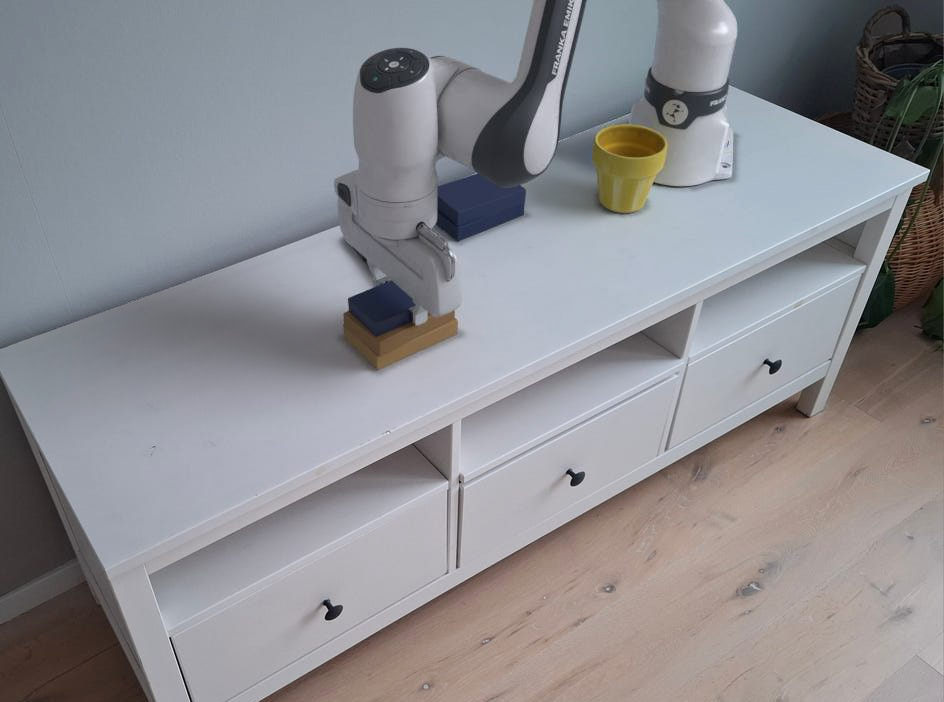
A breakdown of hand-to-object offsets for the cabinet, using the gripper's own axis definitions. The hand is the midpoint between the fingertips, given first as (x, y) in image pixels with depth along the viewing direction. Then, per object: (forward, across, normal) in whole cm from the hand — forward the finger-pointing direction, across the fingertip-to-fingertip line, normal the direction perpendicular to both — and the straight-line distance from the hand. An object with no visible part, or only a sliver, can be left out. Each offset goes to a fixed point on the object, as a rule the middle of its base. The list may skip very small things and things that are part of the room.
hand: (400, 305), depth 117 cm
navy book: (0, 0, 0) cm, 0 cm away
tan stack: (+5, 0, 0) cm, 5 cm away
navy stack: (+5, +16, -24) cm, 29 cm away
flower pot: (+5, +7, -44) cm, 45 cm away
